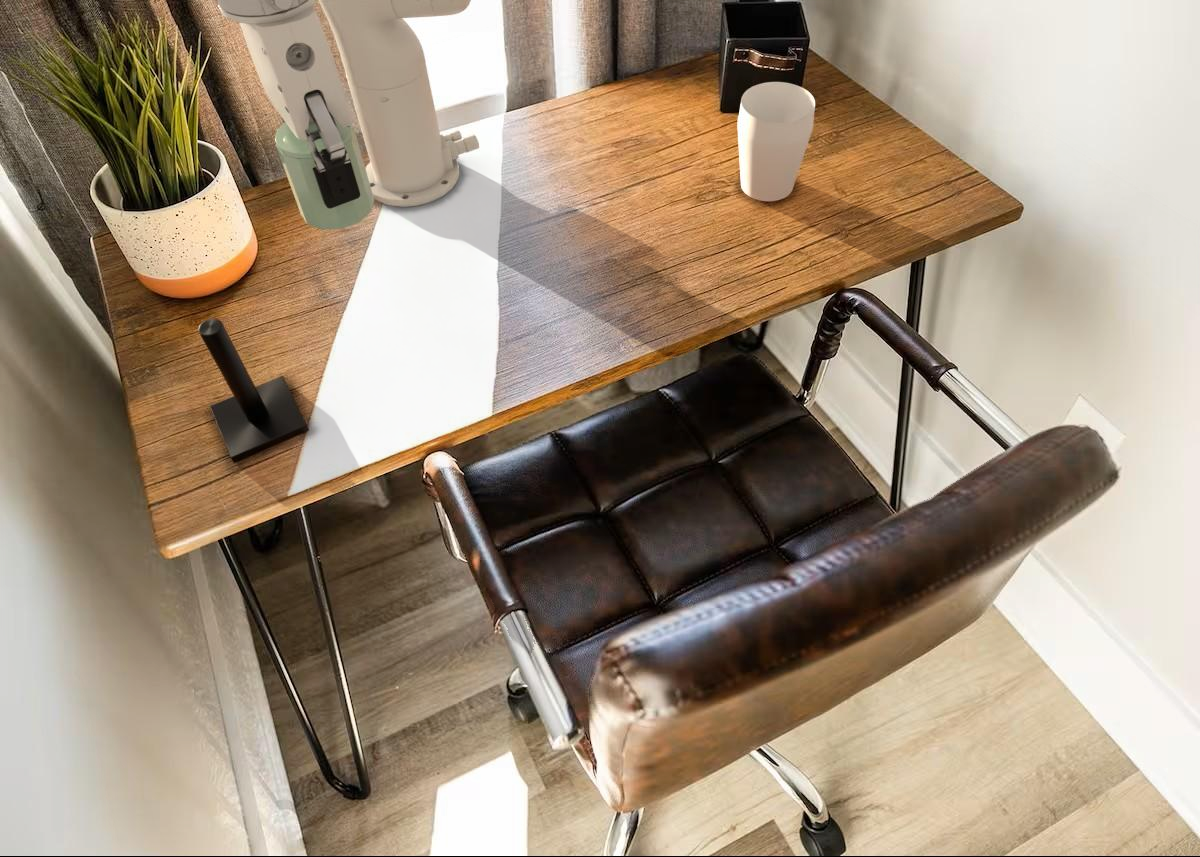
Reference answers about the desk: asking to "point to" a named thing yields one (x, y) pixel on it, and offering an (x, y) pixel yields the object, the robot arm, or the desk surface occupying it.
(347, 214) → the upturned cup
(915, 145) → the desk surface
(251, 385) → the peg
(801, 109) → the cup
